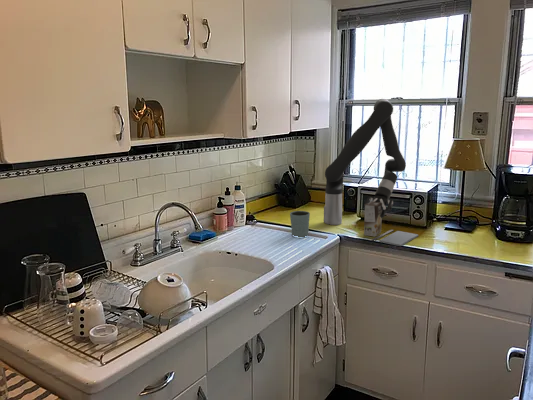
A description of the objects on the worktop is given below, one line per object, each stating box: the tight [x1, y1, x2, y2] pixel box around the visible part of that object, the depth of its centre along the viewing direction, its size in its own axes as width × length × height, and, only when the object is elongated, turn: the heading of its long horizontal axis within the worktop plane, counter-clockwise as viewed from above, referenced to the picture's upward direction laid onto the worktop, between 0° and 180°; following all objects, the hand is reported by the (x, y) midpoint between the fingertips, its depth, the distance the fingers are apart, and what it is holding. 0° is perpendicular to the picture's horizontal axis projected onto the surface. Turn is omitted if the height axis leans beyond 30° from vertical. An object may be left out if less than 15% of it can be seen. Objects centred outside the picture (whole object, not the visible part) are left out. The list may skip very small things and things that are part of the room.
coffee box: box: [363, 200, 383, 238], centre depth 232 cm, size 9×6×16 cm
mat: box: [379, 230, 419, 247], centre depth 224 cm, size 11×20×1 cm, turn 139°
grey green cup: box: [289, 210, 311, 237], centre depth 232 cm, size 10×10×12 cm
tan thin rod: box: [370, 229, 394, 242], centre depth 230 cm, size 2×22×1 cm, turn 139°
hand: (373, 215), depth 232 cm, fingers open, 8 cm apart
